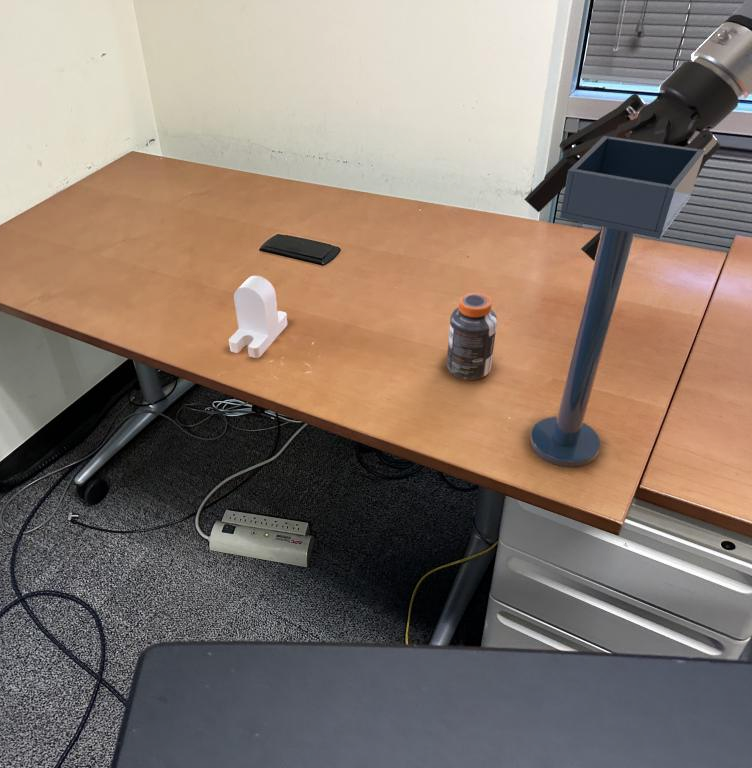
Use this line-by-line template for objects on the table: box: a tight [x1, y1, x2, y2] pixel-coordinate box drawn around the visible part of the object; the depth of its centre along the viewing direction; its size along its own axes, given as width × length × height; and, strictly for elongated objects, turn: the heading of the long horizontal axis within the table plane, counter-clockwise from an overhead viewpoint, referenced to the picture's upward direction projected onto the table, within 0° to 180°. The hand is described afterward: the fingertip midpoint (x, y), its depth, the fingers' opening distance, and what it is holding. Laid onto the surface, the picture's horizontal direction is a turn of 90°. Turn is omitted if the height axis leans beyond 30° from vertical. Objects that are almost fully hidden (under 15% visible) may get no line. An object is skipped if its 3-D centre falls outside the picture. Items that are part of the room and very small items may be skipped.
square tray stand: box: [529, 136, 705, 468], centre depth 72 cm, size 8×8×36 cm
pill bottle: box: [446, 292, 498, 381], centre depth 92 cm, size 6×6×11 cm
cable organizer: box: [228, 275, 288, 359], centre depth 104 cm, size 5×10×10 cm, turn 149°
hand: (558, 229), depth 84 cm, fingers open, 13 cm apart
